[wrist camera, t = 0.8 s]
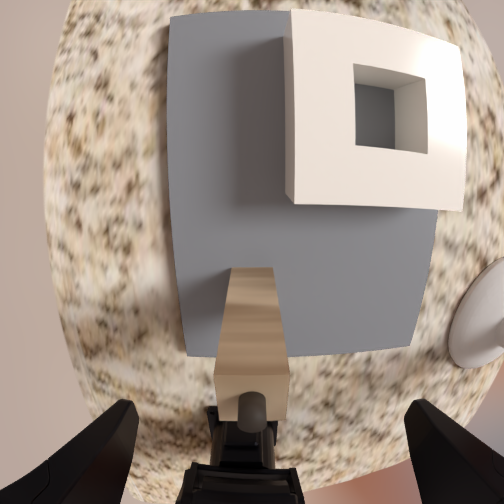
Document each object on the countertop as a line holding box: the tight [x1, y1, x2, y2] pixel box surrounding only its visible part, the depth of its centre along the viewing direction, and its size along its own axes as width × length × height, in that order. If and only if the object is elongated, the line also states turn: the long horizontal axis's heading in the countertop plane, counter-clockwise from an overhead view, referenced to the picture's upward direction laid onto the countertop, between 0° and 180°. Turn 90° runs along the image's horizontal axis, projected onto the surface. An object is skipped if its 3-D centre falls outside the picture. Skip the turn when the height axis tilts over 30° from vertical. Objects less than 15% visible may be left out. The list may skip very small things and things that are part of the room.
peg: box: [214, 267, 290, 433], centre depth 14 cm, size 3×3×11 cm
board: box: [167, 10, 438, 357], centre depth 18 cm, size 24×18×1 cm
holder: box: [283, 8, 467, 211], centre depth 14 cm, size 10×10×4 cm
